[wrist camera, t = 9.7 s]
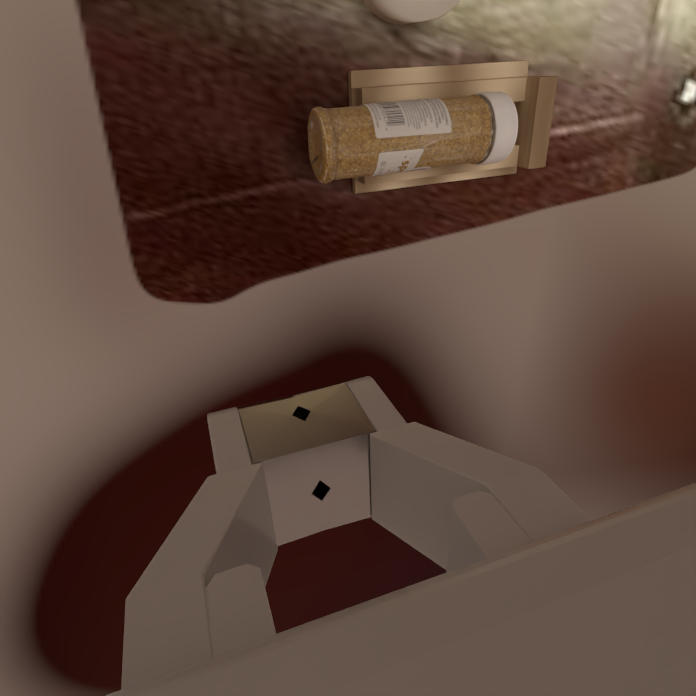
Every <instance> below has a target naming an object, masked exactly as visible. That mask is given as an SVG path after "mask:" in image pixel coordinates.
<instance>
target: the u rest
mask: <svg viewBox="0 0 696 696" xmlns="http://www.w3.org/2000/svg"><path fill="white" fill-rule="evenodd" d="M528 65H529V61H514V62H496V63H479V64H461V65H444V66H426V67H408V68H391V69H373V70H356V71H348V87H349V106H360V105H362V104H370V103H382V102H393V101H404V100H417V99H430V98H438V99H443V98H456V97H469V96H471V95H475V94H477V93H482V92H504V93H506V94H507V95H509V96H510V98H511V99H512V100H513V102H514V104H515V107H516V110H517V114H518V133H517V138H516V142H515V145H514V147H513V149H512V151H511V153H510V154H509V156H508V157H507V158H506V159H504V160H503V161H501V162H498V163H492V164H485V165H475V164H471V163H465V164H457V165H450V166H442V167H434V168H431V169H424V170H416V171H407V172H399V173H392V174H385V175H378V176H362V177H355V178H352V184H353V193H355V194H357V193H365V192H373V191H381V190H389V189H397V188H405V187H412V186H420V185H428V184H436V183H444V182H452V181H460V180H468V179H476V178H483V177H491V176H499V175H507V174H515V173H516V170H517V166H519V167H523V168H527V169H532V168H540V167H545V165H546V158H547V151H548V144H549V137H550V130H551V123H552V115H553V108H554V101H555V94H556V87H557V80H558V76H527V74H528Z"/></svg>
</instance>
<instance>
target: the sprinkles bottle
mask: <svg viewBox="0 0 696 696" xmlns="http://www.w3.org/2000/svg"><path fill="white" fill-rule="evenodd" d="M517 133H518V114H517V110H516V107H515V104H514V102H513V100H512V99H511V98H510V96H509V95H507V94H506V93H504V92H482V93H477V94H475V95H471V96H469V97H456V98H443V99H438V98H430V99H417V100H404V101H393V102H382V103H370V104H362V105H360V106H349V107H341V108H322V107H315V108H313V109H312V111H311V113H310V115H309V119H308V145H309V157H310V162H311V166H312V169H313V171H314V174H315V176H316V178H317V179H318V180H319V181H320V182H321V183H329V182H331V181H332V180H339V179H346V178H355V177H362V176H378V175H385V174H392V173H399V172H407V171H416V170H424V169H431V168H434V167H442V166H450V165H457V164H465V163H471V164H475V165H485V164H492V163H498V162H501V161H503V160H504V159H506V158H507V157H508V156H509V154H510V153H511V151H512V149H513V147H514V145H515V142H516V138H517Z"/></svg>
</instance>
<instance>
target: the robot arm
mask: <svg viewBox="0 0 696 696" xmlns="http://www.w3.org/2000/svg"><path fill="white" fill-rule="evenodd" d="M207 420H208V426H209V432H210V437H211V444H212V449H213V455H214V461H215V466H216V473H217V474H216V475H212V476H209V477H207V479H206V480H205V482H204V483H203V485H202V486H201V488H200V489H199V491H198V492H197V494H196V496H195V497H194V498H193V500H192V501H191V503H190V504H189V506H188V507H187V509H186V510H185V512H184V513H183V515H182V516H181V518H180V519H179V521H178V522H177V524H176V525H175V527H174V528H173V530H172V531H171V533H170V534H169V536H168V537H167V539H166V540H165V542H164V543H163V544H162V546H161V548H160V549H159V551H158V552H157V553H156V555H155V556H154V558H153V560H152V561H151V563H150V564H149V565H148V567H147V568H146V570H145V571H144V573H143V574H142V576H141V577H140V579H139V580H138V582H137V583H136V585H135V586H134V588H133V589H132V591H131V592H130V594H129V595H128V597H127V598H126V608H125V629H124V648H123V667H122V688H121V690H120V691H118V692H114V693H112V694H109V695H106V696H696V483H695V484H692V485H689V486H687V487H684V488H681V489H678V490H675V491H672V492H669V493H667V494H664V495H661V496H658V497H655V498H653V499H650V500H647V501H644V502H642V503H639V504H636V505H633V506H631V507H628V508H625V509H622V510H620V511H617V512H614V513H611V514H608V515H606V516H603V517H600V518H597V519H595V520H592V521H591V520H590V519H589V518H588V517H587V516H586V515H585V514H584V513H583V512H582V511H581V510H580V509H579V508H578V507H577V506H576V505H575V504H574V503H573V502H572V501H571V500H570V499H569V498H568V497H567V496H566V495H565V494H564V493H563V492H562V491H561V490H560V489H559V488H558V487H557V486H556V485H555V484H554V483H553V482H552V481H551V480H550V479H549V477H548V476H547V475H545V473H543V472H542V470H540V469H538V468H535V467H533V466H530V465H528V464H525V463H522V462H520V461H517V460H514V459H511V458H509V457H506V456H504V455H501V454H498V453H496V452H493V451H490V450H488V449H485V448H482V447H480V446H477V445H474V444H472V443H469V442H467V441H464V440H461V439H459V438H456V437H453V436H451V435H448V434H445V433H442V432H440V431H437V430H434V429H432V428H429V427H427V426H424V425H421V424H419V423H416V422H412V423H408V424H407V423H406V422H405V420H404V419H403V418H402V416H401V415H400V414H399V412H398V411H397V410H396V409H395V407H394V406H393V405H392V403H391V402H390V401H389V399H388V398H387V397H386V395H385V394H384V393H383V391H382V390H381V389H380V388H379V386H378V385H377V383H376V382H375V381H374V380H373V378H371V377H369V376H367V377H363V378H359V379H355V380H352V381H348V382H344V383H342V384H338V385H334V386H330V387H326V388H322V389H318V390H315V391H310V392H306V393H303V394H298V395H294V396H292V395H291V396H287V397H282V398H277V399H273V400H268V401H263V402H258V403H253V404H249V405H244V406H239V407H237V408H236V407H235V408H230V409H226V410H222V411H217V412H213V413H209V414H208V416H207ZM369 517H372V519H373V520H374V521H376V522H377V523H379V524H380V525H382V526H383V527H384V528H386V529H387V530H389V531H391V532H392V533H393V534H395V535H396V536H398V537H399V538H401V539H402V540H403V541H405V542H407V543H408V544H409V545H411V546H412V547H414V548H415V549H417V550H418V551H419V552H421V553H423V554H424V555H425V556H427V557H428V558H430V559H431V560H433V561H434V562H435V563H437V564H438V565H440V566H441V567H443V568H444V569H446V570H447V572H446V573H445V574H442V575H439V576H436V577H433V578H431V579H428V580H425V581H422V582H420V583H417V584H414V585H411V586H408V587H406V588H403V589H400V590H397V591H395V592H392V593H389V594H386V595H383V596H381V597H378V598H375V599H372V600H370V601H367V602H364V603H361V604H359V605H356V606H353V607H350V608H347V609H345V610H342V611H339V612H336V613H334V614H331V615H328V616H325V617H322V618H320V619H317V620H314V621H311V622H309V623H306V624H303V625H301V626H297V627H295V628H292V629H289V630H286V631H284V632H281V633H278V634H276V632H275V628H274V624H273V619H272V615H271V611H270V607H269V603H268V599H267V594H266V590H265V586H266V583H267V580H268V577H269V574H270V570H271V568H272V564H273V562H274V559H275V556H276V553H277V549H278V548H277V546H279V545H282V544H285V543H288V542H291V541H294V540H297V539H300V538H303V537H305V536H308V535H311V534H314V533H317V532H320V531H323V530H326V529H330V528H333V527H337V526H341V525H344V524H348V523H351V522H355V521H358V520H361V519H365V518H369Z"/></svg>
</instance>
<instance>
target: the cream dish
mask: <svg viewBox="0 0 696 696" xmlns="http://www.w3.org/2000/svg"><path fill="white" fill-rule="evenodd" d="M362 1H363V3H364V4H365V6H366V7H367V8H368V9H369V10H370V11H371V12H372V13H373V14H374V15H375V16H377V17H378V18H380V19H381V20H383V21H385V22H388V23H392V24H399V25H400V24H409V23H415V22H421V21H427V20H432V19H436V18H438V17H440V16H442V15H444V14H446V13H447V12H449V11H450V10H451V9H452V8H454V6H455V5H456V4H457V3H458V2H459V1H460V0H362Z"/></svg>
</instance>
